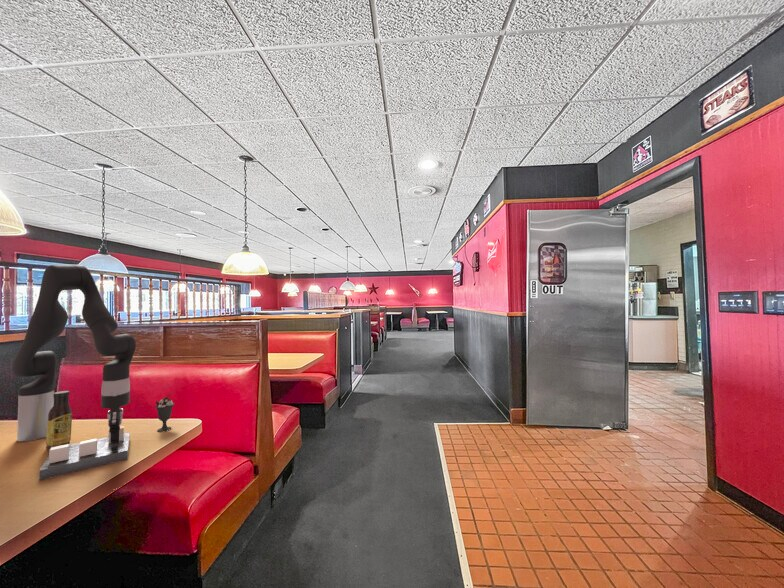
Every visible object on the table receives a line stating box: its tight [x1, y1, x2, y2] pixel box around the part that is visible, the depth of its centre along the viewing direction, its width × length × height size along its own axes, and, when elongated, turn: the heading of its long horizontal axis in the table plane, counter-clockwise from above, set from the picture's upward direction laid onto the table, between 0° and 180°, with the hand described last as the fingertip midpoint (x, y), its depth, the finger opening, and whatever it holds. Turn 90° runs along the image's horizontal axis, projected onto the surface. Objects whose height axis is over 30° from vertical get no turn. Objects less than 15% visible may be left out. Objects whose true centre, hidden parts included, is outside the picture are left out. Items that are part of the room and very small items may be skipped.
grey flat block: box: [38, 432, 131, 481], centre depth 105 cm, size 18×20×3 cm
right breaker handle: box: [48, 443, 71, 463], centre depth 97 cm, size 2×4×4 cm, turn 128°
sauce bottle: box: [45, 390, 73, 451], centre depth 113 cm, size 7×6×20 cm
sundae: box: [154, 394, 175, 433], centre depth 129 cm, size 7×7×15 cm
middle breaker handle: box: [79, 438, 98, 457], centre depth 102 cm, size 2×4×4 cm, turn 129°
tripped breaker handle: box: [107, 425, 125, 443], centre depth 111 cm, size 2×4×4 cm, turn 129°
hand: (114, 441), depth 108 cm, fingers closed
